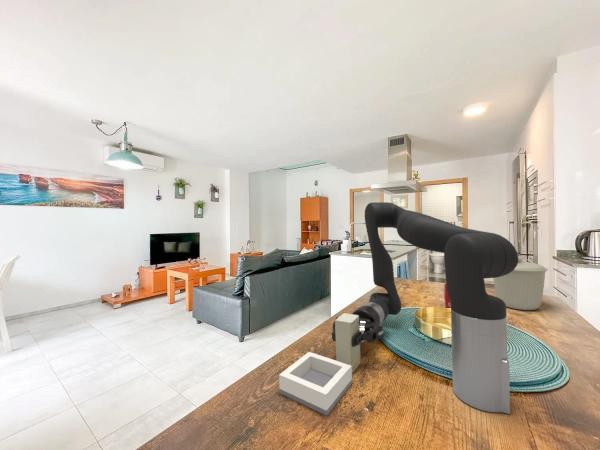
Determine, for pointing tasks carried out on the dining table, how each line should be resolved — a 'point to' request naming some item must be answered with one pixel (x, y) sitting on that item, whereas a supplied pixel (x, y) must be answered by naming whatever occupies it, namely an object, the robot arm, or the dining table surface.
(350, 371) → the socket block
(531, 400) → the dining table surface
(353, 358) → the skincare box
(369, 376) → the dining table surface
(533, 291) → the canister
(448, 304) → the soda can
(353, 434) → the dining table surface
